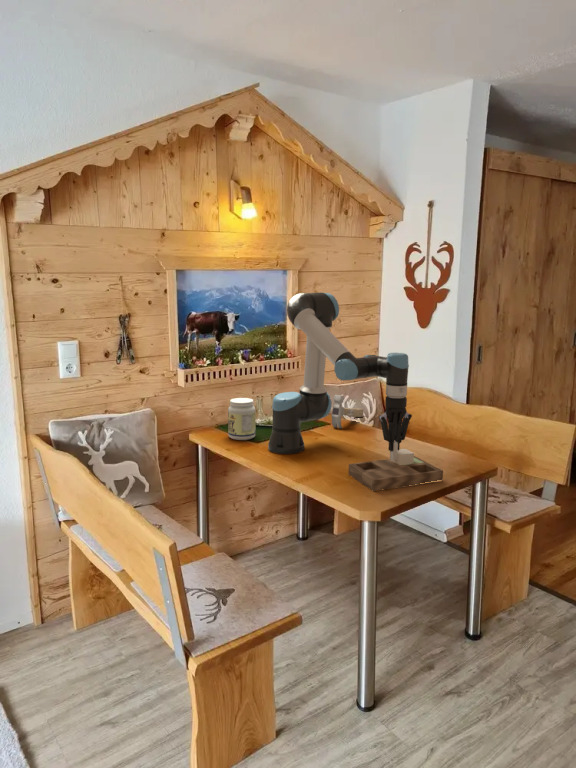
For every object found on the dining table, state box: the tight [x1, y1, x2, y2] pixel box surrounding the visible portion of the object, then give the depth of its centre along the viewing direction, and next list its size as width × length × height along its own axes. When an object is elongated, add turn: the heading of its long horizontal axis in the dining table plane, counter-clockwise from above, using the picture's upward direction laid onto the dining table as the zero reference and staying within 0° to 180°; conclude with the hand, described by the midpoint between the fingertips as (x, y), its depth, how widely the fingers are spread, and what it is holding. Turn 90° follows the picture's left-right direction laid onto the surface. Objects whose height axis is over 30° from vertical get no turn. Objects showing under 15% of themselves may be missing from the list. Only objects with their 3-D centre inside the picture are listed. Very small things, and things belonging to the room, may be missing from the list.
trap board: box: [348, 455, 444, 492], centre depth 205 cm, size 28×18×4 cm, turn 112°
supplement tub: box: [227, 397, 256, 441], centre depth 255 cm, size 12×12×17 cm
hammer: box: [331, 394, 364, 429], centre depth 281 cm, size 16×5×30 cm
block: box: [391, 448, 415, 465], centre depth 210 cm, size 6×6×4 cm
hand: (393, 459), depth 209 cm, fingers closed
